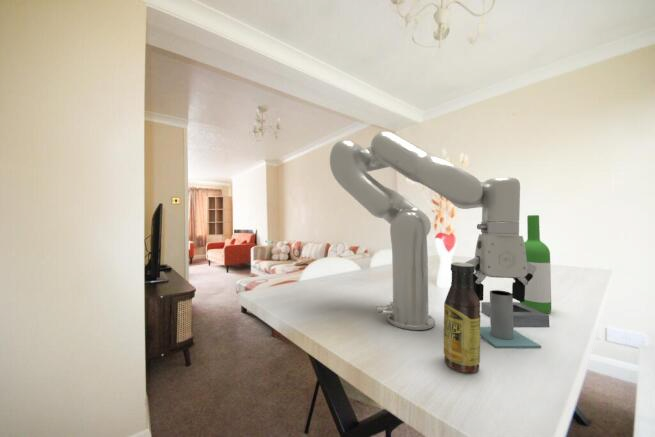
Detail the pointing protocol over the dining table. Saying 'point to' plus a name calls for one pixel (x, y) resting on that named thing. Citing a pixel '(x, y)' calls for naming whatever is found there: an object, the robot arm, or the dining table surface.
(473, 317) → the sauce bottle
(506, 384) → the dining table surface
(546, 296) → the wine bottle
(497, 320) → the grey cylinder
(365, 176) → the robot arm
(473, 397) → the dining table surface
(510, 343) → the mat
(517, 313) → the socket block
